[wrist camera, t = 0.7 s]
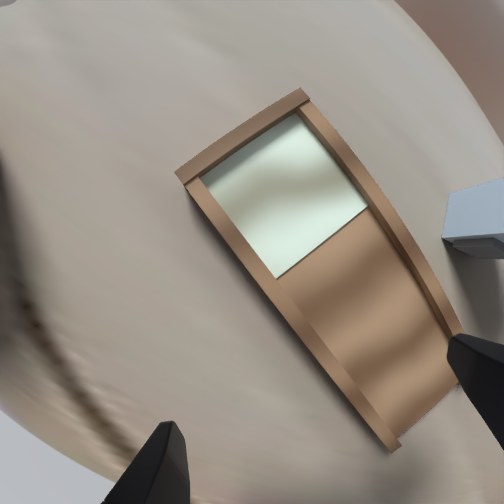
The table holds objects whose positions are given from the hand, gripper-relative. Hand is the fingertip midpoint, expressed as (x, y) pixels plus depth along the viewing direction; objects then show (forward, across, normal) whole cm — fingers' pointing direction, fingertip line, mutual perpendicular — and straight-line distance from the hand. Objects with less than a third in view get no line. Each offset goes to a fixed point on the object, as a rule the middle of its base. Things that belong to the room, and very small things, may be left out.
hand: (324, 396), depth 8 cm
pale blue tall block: (+14, -18, +2) cm, 23 cm away
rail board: (+13, -6, +4) cm, 15 cm away
